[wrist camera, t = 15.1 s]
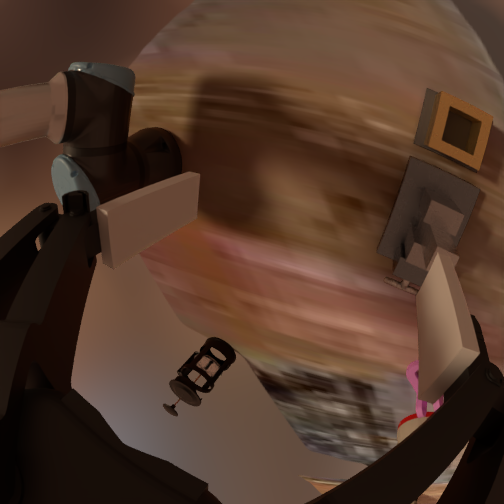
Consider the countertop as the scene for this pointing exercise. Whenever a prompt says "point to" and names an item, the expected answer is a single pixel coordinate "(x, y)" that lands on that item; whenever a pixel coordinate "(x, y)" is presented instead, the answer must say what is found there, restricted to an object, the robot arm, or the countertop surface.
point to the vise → (425, 222)
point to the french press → (205, 367)
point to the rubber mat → (453, 131)
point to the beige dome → (410, 425)
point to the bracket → (413, 378)
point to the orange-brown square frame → (476, 135)
